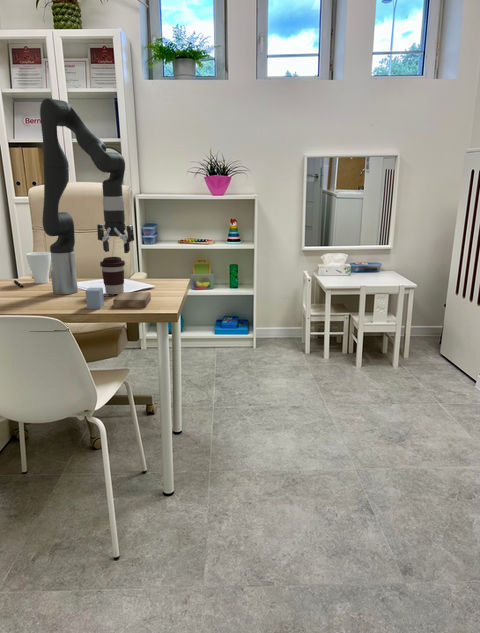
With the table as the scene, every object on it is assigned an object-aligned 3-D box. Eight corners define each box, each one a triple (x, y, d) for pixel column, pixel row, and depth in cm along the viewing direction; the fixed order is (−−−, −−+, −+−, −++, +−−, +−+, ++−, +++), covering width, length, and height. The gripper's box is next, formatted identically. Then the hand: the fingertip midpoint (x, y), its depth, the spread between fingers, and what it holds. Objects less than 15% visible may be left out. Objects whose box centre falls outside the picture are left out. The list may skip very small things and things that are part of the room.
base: (113, 307, 180) (113, 299, 180) (120, 299, 192) (120, 292, 191) (145, 307, 181) (145, 299, 180) (150, 299, 192) (150, 292, 191)
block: (87, 308, 179) (85, 290, 177) (91, 305, 184) (89, 287, 182) (100, 308, 179) (99, 290, 177) (104, 305, 184) (102, 287, 182)
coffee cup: (105, 297, 196) (102, 260, 192) (100, 292, 204) (97, 257, 200) (129, 294, 200) (127, 258, 196) (123, 289, 209) (121, 255, 205)
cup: (45, 279, 230) (42, 251, 226) (58, 281, 224) (55, 253, 220) (25, 282, 222) (21, 253, 218) (38, 285, 216) (34, 256, 212)
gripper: (91, 209, 177) (94, 252, 182) (125, 210, 173) (128, 254, 178) (102, 207, 184) (105, 249, 189) (135, 208, 180) (138, 251, 185)
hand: (116, 252), depth 183 cm, fingers open, 8 cm apart
